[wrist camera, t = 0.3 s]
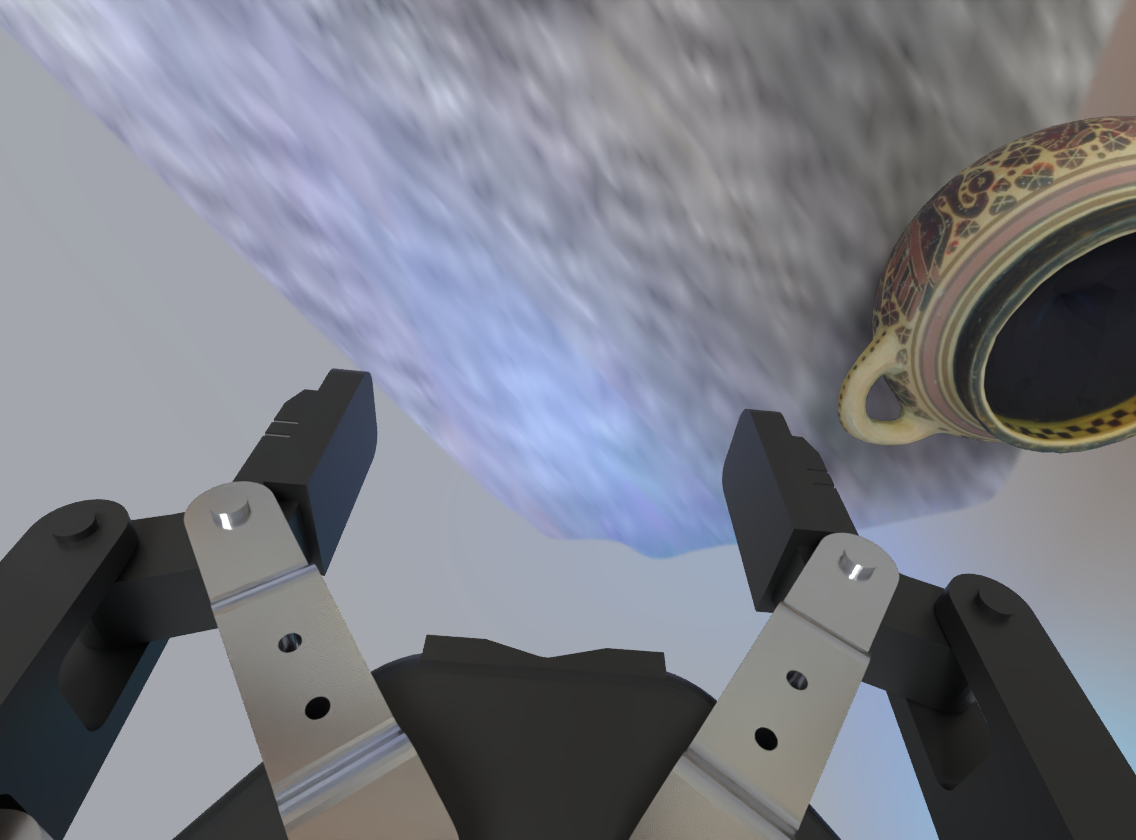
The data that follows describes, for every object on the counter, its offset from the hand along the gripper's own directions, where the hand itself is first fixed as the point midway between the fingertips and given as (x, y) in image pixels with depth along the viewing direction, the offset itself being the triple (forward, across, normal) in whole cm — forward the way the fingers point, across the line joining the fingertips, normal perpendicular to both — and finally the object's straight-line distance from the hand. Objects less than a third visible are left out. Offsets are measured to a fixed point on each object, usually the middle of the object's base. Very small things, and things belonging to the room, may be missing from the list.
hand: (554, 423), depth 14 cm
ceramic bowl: (+28, -27, +4) cm, 39 cm away
